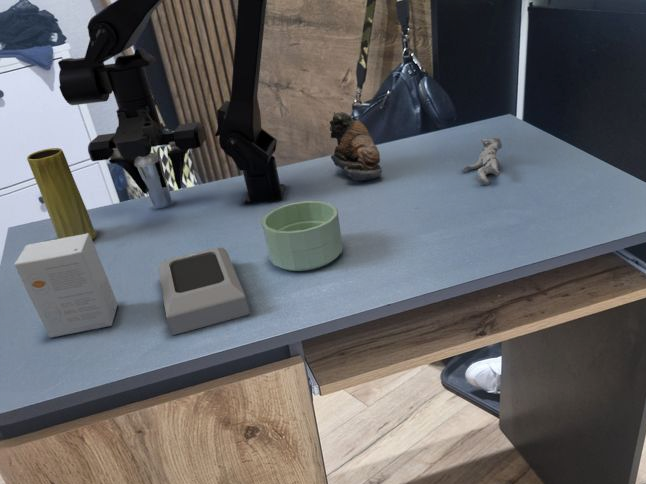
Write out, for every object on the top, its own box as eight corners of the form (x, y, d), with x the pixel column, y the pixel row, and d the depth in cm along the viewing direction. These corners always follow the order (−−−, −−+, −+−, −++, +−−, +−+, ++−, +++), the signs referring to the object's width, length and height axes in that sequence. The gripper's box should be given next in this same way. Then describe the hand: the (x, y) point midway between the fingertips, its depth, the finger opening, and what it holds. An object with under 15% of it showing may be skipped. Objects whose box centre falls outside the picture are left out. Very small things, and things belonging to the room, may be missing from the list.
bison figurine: (391, 178, 110) (386, 118, 104) (356, 189, 108) (348, 129, 102) (358, 162, 119) (351, 106, 114) (324, 172, 117) (316, 115, 111)
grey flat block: (163, 309, 74) (154, 258, 86) (172, 335, 76) (162, 282, 89) (243, 288, 76) (223, 240, 88) (250, 314, 78) (230, 264, 90)
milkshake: (174, 208, 110) (153, 151, 105) (146, 211, 112) (124, 155, 106) (184, 198, 114) (164, 142, 108) (158, 201, 115) (137, 146, 110)
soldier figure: (463, 192, 104) (456, 147, 111) (484, 206, 106) (476, 160, 113) (499, 160, 99) (489, 114, 106) (520, 175, 101) (509, 130, 108)
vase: (61, 251, 102) (24, 163, 94) (57, 238, 106) (22, 154, 98) (100, 240, 104) (67, 153, 96) (94, 228, 108) (62, 144, 100)
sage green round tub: (274, 244, 94) (266, 205, 91) (343, 236, 93) (338, 197, 90) (266, 277, 86) (257, 236, 82) (342, 269, 85) (335, 227, 82)
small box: (119, 305, 85) (91, 231, 79) (113, 327, 80) (82, 250, 74) (58, 316, 84) (25, 243, 78) (48, 339, 79) (12, 263, 73)
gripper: (59, 119, 97) (95, 215, 106) (178, 103, 95) (205, 202, 104) (85, 100, 106) (116, 190, 115) (194, 85, 104) (218, 177, 113)
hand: (162, 190), depth 111 cm, fingers closed on milkshake, 6 cm apart
